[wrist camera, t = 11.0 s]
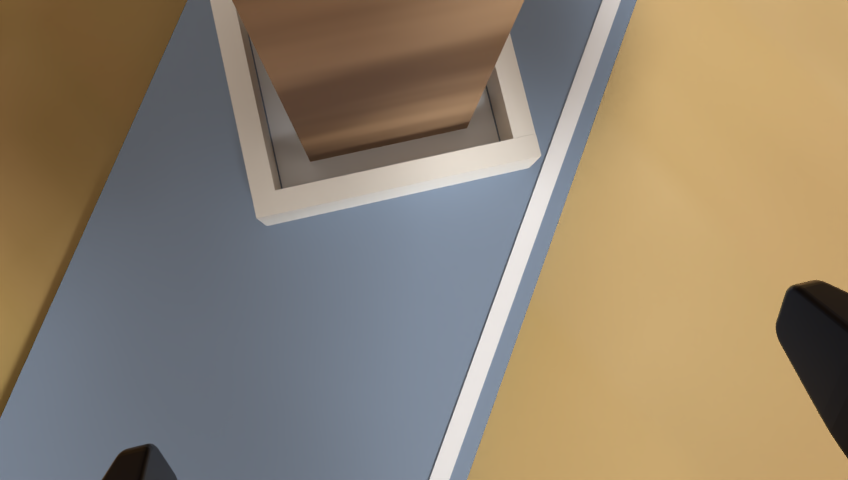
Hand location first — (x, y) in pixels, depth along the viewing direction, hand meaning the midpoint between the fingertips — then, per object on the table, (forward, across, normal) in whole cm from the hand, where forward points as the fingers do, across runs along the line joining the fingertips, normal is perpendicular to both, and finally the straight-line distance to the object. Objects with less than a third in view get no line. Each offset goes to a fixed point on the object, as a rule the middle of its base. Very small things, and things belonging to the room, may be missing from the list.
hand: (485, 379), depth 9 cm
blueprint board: (+10, +2, +4) cm, 11 cm away
